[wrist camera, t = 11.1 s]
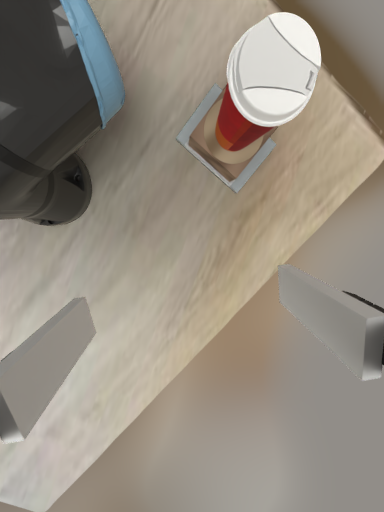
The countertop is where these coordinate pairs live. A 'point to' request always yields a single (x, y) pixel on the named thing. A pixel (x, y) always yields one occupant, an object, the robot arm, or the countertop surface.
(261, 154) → the build plate
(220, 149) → the pedestal
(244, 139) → the coffee cup
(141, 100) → the countertop surface
